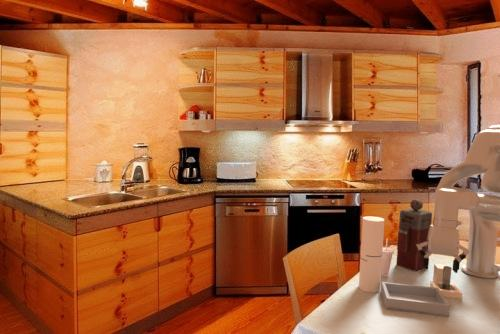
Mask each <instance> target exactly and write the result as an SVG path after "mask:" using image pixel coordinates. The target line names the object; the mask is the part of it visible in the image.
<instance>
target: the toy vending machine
mask: <svg viewBox="0 0 500 334" xmlns="http://www.w3.org/2000/svg"><path fill="white" fill-rule="evenodd" d="M409 206H410V208H406V209H401V210H400V211H399V218H398V219H399V221H398V231H397V244H396V245H397V246H396V249H397V252H396V266H398V267H401V268H404V269H408V270H410V271H413V272H415V273H417V272H420V271H423V270H426V269H425V267H424V266H423V255H422V254H421V253H420V252H419V250H418V248H417V246H416V245H417V244H418V243H421V242H424V241H427V236H428V231H429V228H430V225H432V223H433V220H432V219H433V213H432V212H431V211H428V210H425V209H422V208H423V206H424V203H423V201H422V200H420V199H418V198H417V199H413V200H411V201H410V205H409ZM422 250H423V251H424V252H425V251H426V250H427V249H426V246H423V247H422ZM429 257H430V256H429ZM429 257H428V258H429ZM429 259H430V258H429Z"/></svg>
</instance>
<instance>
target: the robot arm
mask: <svg viewBox="0 0 500 334" xmlns="http://www.w3.org/2000/svg"><path fill="white" fill-rule="evenodd" d="M479 175H482V178H481V183H480V186H481V189H482V190H483V191H484V192H487V193H490V194H487V193H477V192H476V191H475V190H473V189H469V188H462V187H456V186H455V185H456V184H457V183H459V182H460V181H462V180H465V179H468V178H472V177H475V176H479ZM492 194H493V195H492ZM498 195H499V196H498ZM434 199H435V202H434V211H433V220H432V224H431V225H430V228H429V231H428V236H427V241H424V242H421V243H418V244H417V245H416V246H417V248H418V250H419V252H420V253H421V254H422V255H423V266H424V267H425V269H424V270H428V269H429V263H430V258H428V257H430V256H431V255H439V256H447V257H454V259H453V261H452V271H453V272H454V273H458V272H459V270H460V269H461V270H462V271H463V272H464V273H465V274H467V275H469V276H472V277H476V278H482V279H497V278H499V272H500V264H497V263H496V252H497V244H498V233H499V232H498V227H497V225H496V222H498V223H500V124H497V125H491V126H487V128H486V129H485V130H484V129H483V130H481V131H479V132H478V133H477V134H476V136H475V137H474V139H473V141H472V143H471V145H470V147H469V150H468V151H467V153H466V155H465V157H464V159H463V161H462V162H460V163H458V164H456V165H455V166H454V167H452V168H451V169H450V170H447V172H446V173H444V174H443V176H442V177H441V179H440V181H439V182H438V185H437V186H436V190H435V192H434ZM459 210H464V211H468V212H469V213H468V214H469V230H468V242H467V248H466V247H464V246H463V245H462V244H461V243H460V230H459V228H458V227H459V226H462V224H463V223H462V221H459V220H458V217H459ZM423 246H426V249H427V250H426V251H425V252H424V251H423V250H422V247H423ZM460 250H461V251H462V253H461V254H459V253H460ZM465 258H466V262H465V263H466V264H462V265H461V267H460V263H461V262H462V261H463V260H464V259H465ZM496 277H497V278H496Z"/></svg>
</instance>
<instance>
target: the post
mask: <svg viewBox="0 0 500 334" xmlns="http://www.w3.org/2000/svg"><path fill="white" fill-rule="evenodd" d="M451 276H452V267H451V266H448V265H447V266H444V268H443V280H442V289H445V290H450V283H451V279H452V278H451Z"/></svg>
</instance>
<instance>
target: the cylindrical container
mask: <svg viewBox="0 0 500 334" xmlns="http://www.w3.org/2000/svg"><path fill="white" fill-rule="evenodd" d="M361 225H362V227H361V241H360V243H361V245H360V258H359V260H360V263H359V279H358V280H359V281H358V288H359V289H360V290H361V291H364V292H366V293H367V292H368V293H378V292H381V282H382V275H381V267H382V251H383V247H384V232H385V218H383V217H379V216H370V215H367V216H363V217H362V223H361Z"/></svg>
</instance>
